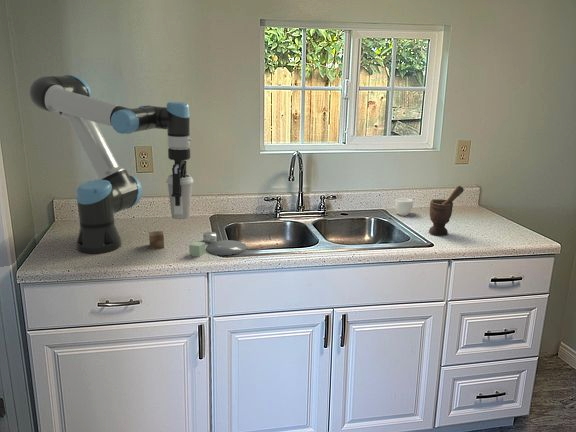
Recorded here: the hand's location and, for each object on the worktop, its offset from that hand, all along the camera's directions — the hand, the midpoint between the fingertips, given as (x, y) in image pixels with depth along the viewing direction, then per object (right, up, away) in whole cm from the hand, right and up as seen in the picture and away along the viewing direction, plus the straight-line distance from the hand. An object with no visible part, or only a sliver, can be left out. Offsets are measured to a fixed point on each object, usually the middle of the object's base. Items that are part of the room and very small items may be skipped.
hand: (180, 210), depth 191 cm
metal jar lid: (+9, -12, +8) cm, 17 cm away
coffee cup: (0, -2, +1) cm, 3 cm away
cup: (+90, -1, +48) cm, 102 cm away
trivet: (+16, -14, +1) cm, 21 cm away
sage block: (+7, -15, -5) cm, 18 cm away
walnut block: (-9, -13, +2) cm, 16 cm away
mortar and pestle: (+100, -9, +21) cm, 103 cm away
